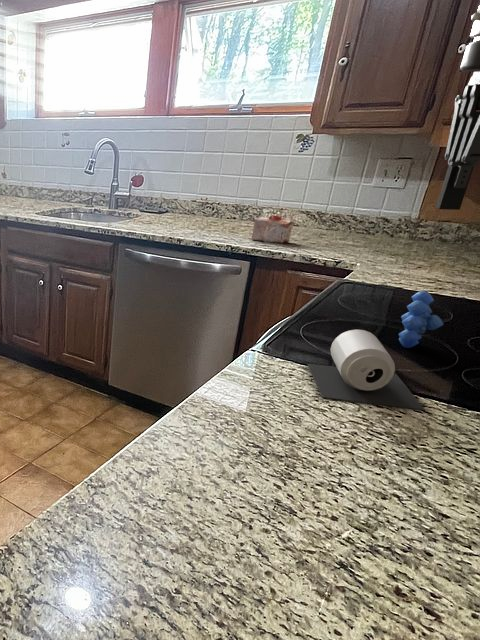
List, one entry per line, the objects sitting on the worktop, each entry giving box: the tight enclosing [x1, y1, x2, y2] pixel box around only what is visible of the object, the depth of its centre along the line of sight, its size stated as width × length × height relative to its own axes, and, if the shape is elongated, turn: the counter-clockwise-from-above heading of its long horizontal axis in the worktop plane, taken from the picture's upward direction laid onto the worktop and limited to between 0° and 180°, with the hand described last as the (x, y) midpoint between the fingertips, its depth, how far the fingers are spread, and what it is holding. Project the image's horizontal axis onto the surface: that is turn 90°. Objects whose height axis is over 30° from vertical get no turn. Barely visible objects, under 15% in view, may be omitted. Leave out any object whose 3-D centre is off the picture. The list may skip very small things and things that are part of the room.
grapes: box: [398, 290, 444, 349], centre depth 102 cm, size 12×7×12 cm, turn 136°
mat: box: [306, 363, 426, 412], centre depth 89 cm, size 14×14×1 cm
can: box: [329, 329, 396, 391], centre depth 90 cm, size 8×8×12 cm
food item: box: [250, 214, 295, 244], centre depth 201 cm, size 14×8×10 cm, turn 41°
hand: (447, 208), depth 84 cm, fingers closed
